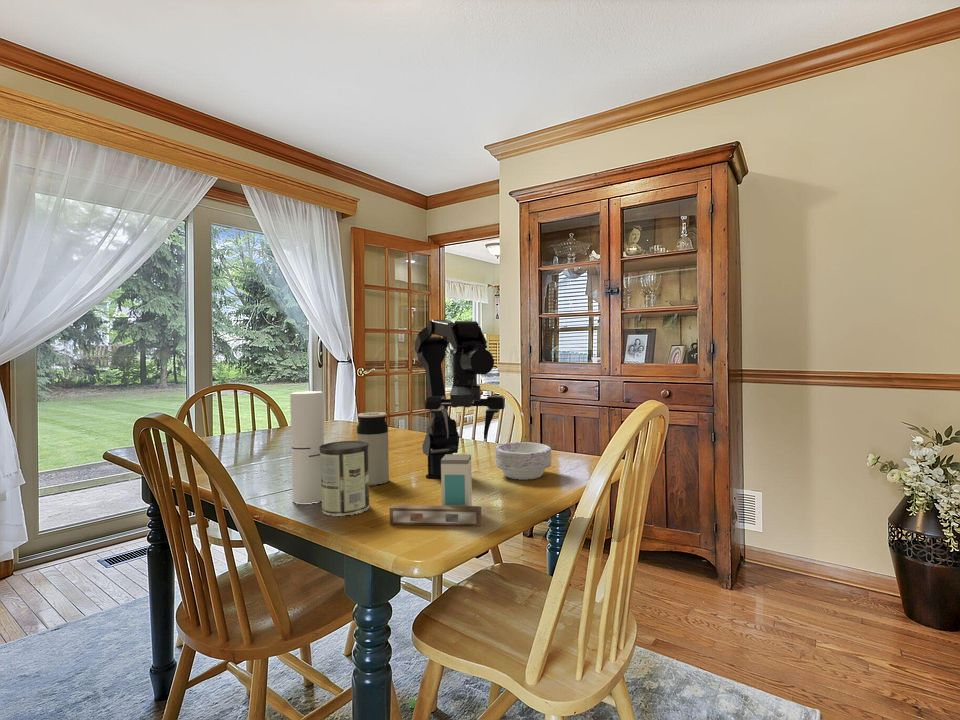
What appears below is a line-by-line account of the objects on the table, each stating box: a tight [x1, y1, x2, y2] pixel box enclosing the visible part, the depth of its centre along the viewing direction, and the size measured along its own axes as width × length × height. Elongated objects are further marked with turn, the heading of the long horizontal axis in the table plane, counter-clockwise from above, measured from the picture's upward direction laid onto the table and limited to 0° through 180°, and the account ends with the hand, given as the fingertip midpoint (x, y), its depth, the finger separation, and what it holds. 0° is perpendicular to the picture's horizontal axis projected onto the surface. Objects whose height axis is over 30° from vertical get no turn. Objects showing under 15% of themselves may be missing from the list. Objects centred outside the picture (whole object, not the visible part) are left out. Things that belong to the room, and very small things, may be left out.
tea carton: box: [440, 453, 473, 506], centre depth 104 cm, size 6×6×12 cm
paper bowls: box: [494, 441, 552, 481], centre depth 135 cm, size 15×15×8 cm
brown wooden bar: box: [389, 504, 482, 527], centre depth 98 cm, size 18×3×3 cm, turn 84°
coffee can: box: [319, 440, 371, 517], centre depth 109 cm, size 10×10×14 cm
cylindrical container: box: [289, 390, 325, 503], centre depth 116 cm, size 7×7×25 cm
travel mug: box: [356, 411, 390, 486], centre depth 131 cm, size 8×8×18 cm
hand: (466, 438), depth 120 cm, fingers open, 9 cm apart
